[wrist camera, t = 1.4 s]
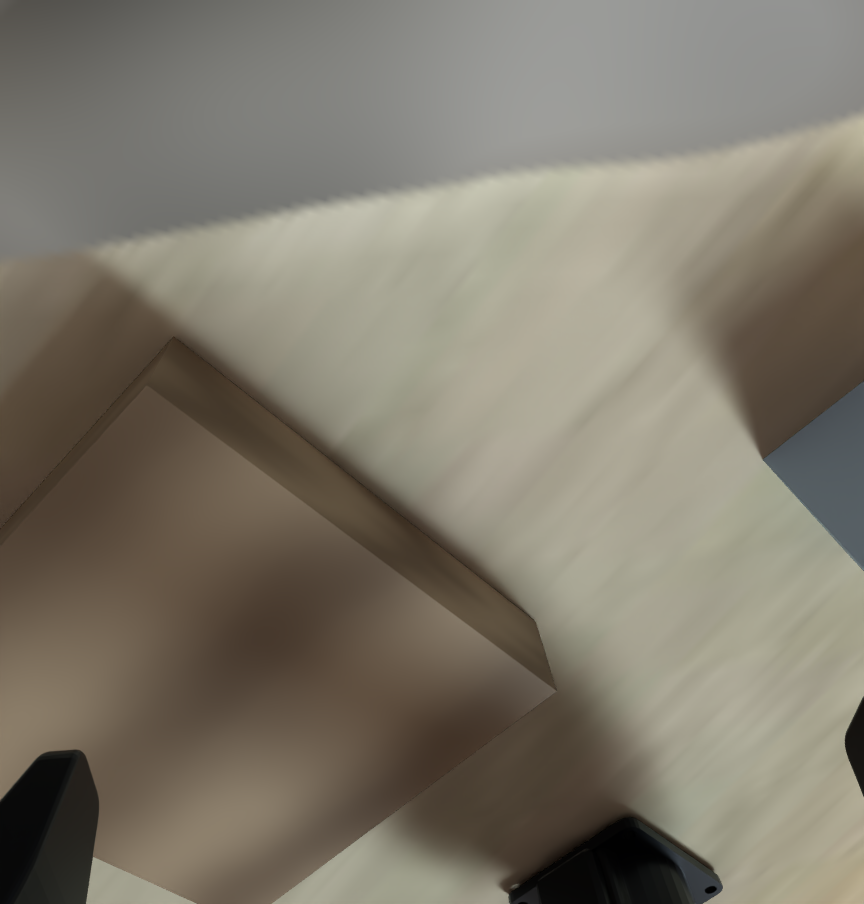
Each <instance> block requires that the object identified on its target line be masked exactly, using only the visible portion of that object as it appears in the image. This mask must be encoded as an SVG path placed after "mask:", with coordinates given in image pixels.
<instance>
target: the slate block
mask: <svg viewBox="0 0 864 904" xmlns="http://www.w3.org/2000/svg"><path fill="white" fill-rule="evenodd" d="M763 461H764V462H765V463H766V464H767V465H768V466H769V467H770V468H771V469H772V470H773V472H774V473H775V474H776V475H777V476H778V477H779V478H780V479H781V480H782V482H783V483H784V484H785V485H786V486H787V487H788V488H789V489H790V490H791V492H792V493H793V494H794V495H795V496H796V497H797V498H798V499H799V500H800V502H801V503H802V504H803V505H804V506H805V507H806V508H807V509H808V510H809V511H810V513H811V514H812V515H813V516H814V517H815V518H816V519H817V520H818V521H819V523H820V524H821V525H822V526H823V527H824V528H825V529H826V530H827V531H828V533H829V534H830V535H831V536H832V537H833V538H834V539H835V540H836V541H837V543H838V544H839V545H840V546H841V547H842V548H843V549H844V550H845V551H846V552H847V554H848V555H849V556H850V557H851V558H852V559H853V560H854V561H855V562H856V563H857V564H858V565H859V567H860V568H861V569H862V570H863V571H864V381H863V382H862V383H860V384H859V385H858V386H857V387H855V388H854V389H853V390H851V391H850V392H849V393H848V394H846V395H845V396H844V397H842V398H841V399H840V400H839V401H837V402H836V403H835V404H833V405H832V406H831V407H830V408H828V409H827V410H826V411H824V412H823V413H822V414H821V415H819V416H818V417H817V418H815V419H814V420H813V421H812V422H810V423H809V424H808V425H806V426H805V427H804V428H803V429H801V430H800V431H799V432H797V433H796V434H795V435H794V436H792V437H791V438H790V439H788V440H787V441H786V442H785V443H783V444H782V445H781V446H779V447H778V448H777V449H776V450H774V451H773V452H772V453H770V454H769V455H768V456H767V457H765V458H764V459H763Z"/></svg>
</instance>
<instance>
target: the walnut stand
mask: <svg viewBox="0 0 864 904" xmlns="http://www.w3.org/2000/svg"><path fill="white" fill-rule="evenodd" d="M556 691H557V690H556V687H555V684H554V680H553V677H552V674H551V671H550V667H549V664H548V661H547V658H546V654H545V651H544V648H543V644H542V641H541V638H540V635H539V631H538V628H537V625H536V622H535V621H534V620H533V619H531V618H530V617H529V616H528V615H526V614H525V613H524V612H523V611H521V610H520V609H519V608H517V607H516V606H515V605H514V604H512V603H511V602H510V601H509V600H507V599H506V598H505V597H503V596H502V595H501V594H500V593H498V592H497V591H496V590H495V589H493V588H492V587H491V586H490V585H488V584H487V583H486V582H484V581H483V580H482V579H481V578H479V577H478V576H477V575H476V574H474V573H473V572H472V571H471V570H469V569H468V568H467V567H465V566H464V565H463V564H462V563H460V562H459V561H458V560H457V559H455V558H454V557H453V556H451V555H450V554H449V553H448V552H446V551H445V550H444V549H443V548H441V547H440V546H439V545H438V544H436V543H435V542H434V541H432V540H431V539H430V538H429V537H427V536H426V535H425V534H424V533H422V532H421V531H420V530H418V529H417V528H416V527H415V526H413V525H412V524H411V523H410V522H408V521H407V520H406V519H405V518H403V517H402V516H401V515H399V514H398V513H397V512H396V511H394V510H393V509H392V508H391V507H389V506H388V505H387V504H386V503H384V502H383V501H382V500H380V499H379V498H378V497H377V496H375V495H374V494H373V493H372V492H370V491H369V490H368V489H366V488H365V487H364V486H363V485H361V484H360V483H359V482H358V481H356V480H355V479H354V478H353V477H351V476H350V475H349V474H347V473H346V472H345V471H344V470H342V469H341V468H340V467H339V466H337V465H336V464H335V463H333V462H332V461H331V460H330V459H328V458H327V457H326V456H325V455H323V454H322V453H321V452H320V451H318V450H317V449H316V448H314V447H313V446H312V445H311V444H309V443H308V442H307V441H306V440H304V439H303V438H302V437H301V436H299V435H298V434H297V433H295V432H294V431H293V430H292V429H290V428H289V427H288V426H287V425H285V424H284V423H283V422H281V421H280V420H279V419H278V418H276V417H275V416H274V415H273V414H271V413H270V412H269V411H268V410H266V409H265V408H264V407H262V406H261V405H260V404H259V403H257V402H256V401H255V400H254V399H252V398H251V397H250V396H248V395H247V394H246V393H245V392H243V391H242V390H241V389H240V388H238V387H237V386H236V385H235V384H233V383H232V382H231V381H229V380H228V379H227V378H226V377H224V376H223V375H222V374H221V373H219V372H218V371H217V370H216V369H214V368H213V367H212V366H210V365H209V364H208V363H207V362H205V361H204V360H203V359H202V358H200V357H199V356H198V355H196V354H195V353H194V352H193V351H191V350H190V349H189V348H188V347H186V346H185V345H184V344H183V343H181V342H180V341H179V340H177V339H176V338H175V337H173V338H172V339H171V340H170V341H169V342H168V343H167V345H166V346H165V347H164V348H163V349H162V350H161V351H160V352H159V353H158V355H157V356H156V357H155V358H154V359H153V360H152V361H151V362H150V363H149V365H148V366H147V367H146V368H145V369H144V370H143V371H142V372H141V373H140V375H139V376H138V377H137V378H136V379H135V380H134V381H133V382H132V383H131V385H130V386H129V387H128V388H127V389H126V390H125V391H124V392H123V393H122V395H121V396H120V397H119V398H118V399H117V400H116V401H115V402H114V403H113V404H112V406H111V407H110V408H109V409H108V410H107V411H106V412H105V413H104V414H103V416H102V417H101V418H100V419H99V420H98V421H97V422H96V423H95V424H94V426H93V427H92V428H91V429H90V430H89V431H88V432H87V433H86V434H85V436H84V437H83V438H82V439H81V440H80V441H79V442H78V443H77V444H76V446H75V447H74V448H73V449H72V450H71V451H70V452H69V453H68V454H67V456H66V457H65V458H64V459H63V460H62V461H61V462H60V463H59V464H58V466H57V467H56V468H55V469H54V470H53V471H52V472H51V473H50V474H49V476H48V477H47V478H46V479H45V480H44V481H43V482H42V483H41V484H40V486H39V487H38V488H37V489H36V490H35V491H34V492H33V493H32V494H31V496H30V497H29V498H28V499H27V500H26V501H25V502H24V503H23V504H22V506H21V507H20V508H19V509H18V510H17V511H16V512H15V513H14V514H13V516H12V517H11V518H10V519H9V520H8V521H7V522H6V523H5V524H4V526H3V527H2V528H1V529H0V800H1V799H2V797H3V796H4V795H5V794H6V793H7V792H8V790H9V789H10V788H11V787H12V786H13V785H14V783H15V782H16V781H17V780H18V779H19V778H20V776H21V775H22V774H23V773H24V772H25V771H26V769H27V768H28V767H29V766H30V765H31V764H32V762H33V761H34V760H35V759H36V758H37V757H38V756H40V755H41V754H43V753H45V752H49V751H60V750H74V749H77V750H81V751H82V752H83V753H84V754H85V756H86V758H87V761H88V764H89V767H90V770H91V773H92V776H93V780H94V783H95V786H96V789H97V792H98V796H99V818H98V825H97V832H96V839H95V845H94V852H93V857H95V858H97V859H100V860H102V861H104V862H106V863H108V864H111V865H113V866H115V867H117V868H120V869H122V870H124V871H126V872H128V873H131V874H133V875H135V876H137V877H139V878H142V879H144V880H146V881H148V882H151V883H153V884H155V885H157V886H159V887H162V888H164V889H166V890H168V891H170V892H173V893H175V894H177V895H179V896H181V897H184V898H186V899H188V900H190V901H193V902H195V903H197V904H272V903H273V902H274V901H276V900H277V899H278V898H280V897H281V896H282V895H284V894H285V893H286V892H288V891H289V890H290V889H292V888H293V887H294V886H296V885H297V884H299V883H300V882H301V881H303V880H304V879H305V878H307V877H308V876H309V875H311V874H312V873H313V872H315V871H316V870H317V869H319V868H320V867H321V866H323V865H324V864H325V863H327V862H328V861H329V860H331V859H332V858H333V857H335V856H336V855H337V854H339V853H340V852H342V851H343V850H344V849H346V848H347V847H348V846H350V845H351V844H352V843H354V842H355V841H356V840H358V839H359V838H360V837H362V836H363V835H364V834H366V833H367V832H368V831H370V830H371V829H372V828H374V827H375V826H376V825H378V824H379V823H380V822H382V821H383V820H385V819H386V818H387V817H389V816H390V815H391V814H393V813H394V812H395V811H397V810H398V809H399V808H401V807H402V806H403V805H405V804H406V803H407V802H409V801H410V800H411V799H413V798H414V797H415V796H417V795H418V794H419V793H421V792H422V791H423V790H425V789H426V788H427V787H429V786H430V785H432V784H433V783H434V782H436V781H437V780H438V779H440V778H441V777H442V776H444V775H445V774H446V773H448V772H449V771H450V770H452V769H453V768H454V767H456V766H457V765H458V764H460V763H461V762H462V761H464V760H465V759H466V758H468V757H469V756H470V755H472V754H473V753H475V752H476V751H477V750H479V749H480V748H481V747H483V746H484V745H485V744H487V743H488V742H489V741H491V740H492V739H493V738H495V737H496V736H497V735H499V734H500V733H501V732H503V731H504V730H505V729H507V728H508V727H509V726H511V725H512V724H513V723H515V722H516V721H518V720H519V719H520V718H522V717H523V716H524V715H526V714H527V713H528V712H530V711H531V710H532V709H534V708H535V707H536V706H538V705H539V704H540V703H542V702H543V701H544V700H546V699H547V698H548V697H550V696H551V695H552V694H554V693H555V692H556Z"/></svg>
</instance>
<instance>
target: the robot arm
mask: <svg viewBox="0 0 864 904" xmlns="http://www.w3.org/2000/svg"><path fill="white" fill-rule="evenodd" d="M845 748H846V753H847V756H848V759H849V761H850V764H851V766H852V769H853V771H854V774H855V776H856V779H857V781H858V784H859V786H860V789H861V791H862V794H863V796H864V697H863V698H862V700H861V702H860V704H859V706H858V709H857V711H856V713H855V715H854V717H853V719H852V721H851V723H850V725H849V727H848V729H847V732H846V735H845ZM98 818H99V796H98V792H97V789H96V786H95V783H94V780H93V776H92V773H91V770H90V767H89V764H88V761H87V758H86V756H85V754H84V753H83V752H82V751H81V750H77V749H74V750H60V751H49V752H45V753H43V754H41V755H40V756H38V757H37V758H36V759H35V760H34V761H33V762H32V764H31V765H30V766H29V767H28V768H27V769H26V771H25V772H24V773H23V774H22V775H21V776H20V778H19V779H18V780H17V781H16V782H15V783H14V785H13V786H12V787H11V788H10V789H9V790H8V792H7V793H6V794H5V795H4V796H3V797H2V799H1V800H0V904H86V899H87V893H88V886H89V879H90V872H91V866H92V859H93V852H94V845H95V839H96V832H97V825H98ZM722 889H723V886H722V883H721V881H720V879H719V877H718V875H717V874H715V873H714V872H712V871H711V870H710V869H708V868H707V867H705V866H704V865H702V864H701V863H699V862H698V861H697V860H695V859H694V858H692V857H691V856H689V855H688V854H686V853H685V852H683V851H682V850H681V849H679V848H678V847H676V846H675V845H673V844H672V843H670V842H669V841H668V840H666V839H665V838H663V837H662V836H660V835H659V834H657V833H656V832H654V831H653V830H652V829H650V828H649V827H647V826H646V825H644V824H643V823H641V822H640V821H639V820H637V819H635V818H629V817H628V818H623V819H621V820H619V821H618V822H616V823H615V824H613V825H612V826H610V827H609V828H607V829H605V830H604V831H602V832H601V833H599V834H598V835H596V836H595V837H593V838H592V839H590V840H589V841H587V842H586V843H584V844H583V845H581V846H580V847H578V848H577V849H575V850H574V851H572V852H571V853H569V854H568V855H566V856H565V857H563V858H562V859H560V860H559V861H557V862H556V863H554V864H553V865H551V866H550V867H548V868H547V869H545V870H544V871H542V872H541V873H539V874H538V875H536V876H535V877H533V878H532V879H530V880H529V881H527V882H526V883H524V884H523V885H521V886H520V887H518V888H517V889H515V890H514V891H512V892H511V893H510V894H509V897H508V898H509V904H703V903H704V902H706V901H708V900H709V899H711V898H712V897H714V896H716V895H717V894H719V893H720V892H721V891H722Z"/></svg>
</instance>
